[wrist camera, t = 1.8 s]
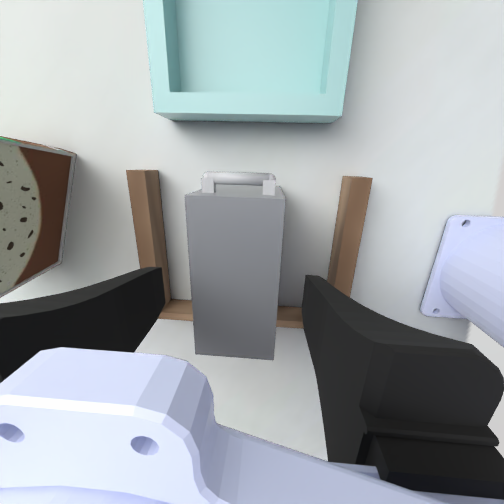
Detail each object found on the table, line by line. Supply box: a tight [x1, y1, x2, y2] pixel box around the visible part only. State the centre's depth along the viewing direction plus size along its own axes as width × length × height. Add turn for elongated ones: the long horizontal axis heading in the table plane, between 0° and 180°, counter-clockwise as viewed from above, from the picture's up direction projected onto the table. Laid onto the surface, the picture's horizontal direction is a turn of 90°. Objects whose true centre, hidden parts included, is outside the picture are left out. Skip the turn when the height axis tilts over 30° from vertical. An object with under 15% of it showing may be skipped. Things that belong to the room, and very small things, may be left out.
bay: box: [126, 170, 373, 329], centre depth 18 cm, size 15×11×2 cm
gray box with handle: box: [185, 171, 286, 360], centre depth 15 cm, size 4×10×7 cm, turn 178°
